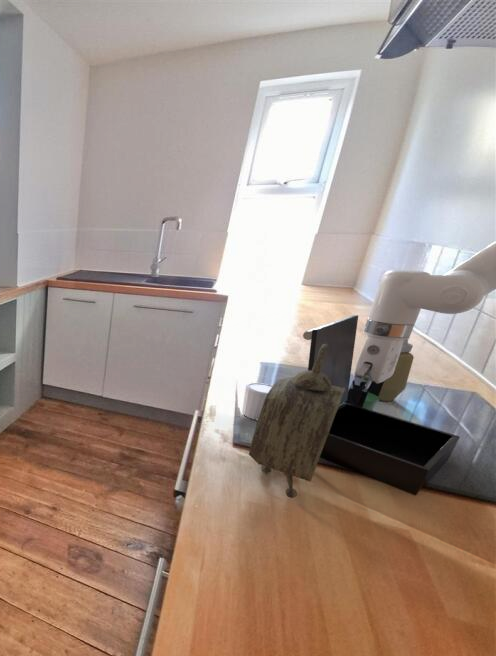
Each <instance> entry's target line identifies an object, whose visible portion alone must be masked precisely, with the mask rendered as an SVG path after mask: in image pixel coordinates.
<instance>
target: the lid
mask: <svg viewBox="0 0 496 656" xmlns="http://www.w3.org/2000/svg"><path fill="white" fill-rule="evenodd" d="M358 322H359V315H357V314H356V315H355V314H354V315H351V316H348V317H345V318H342V319H339V320H336V321H332V322H330V323H327V324H324V325H321V326H319V327H315V328H311V329H310V330H306V331H304V332H303V334H302V337H303V339H304V340H305V341H309V340H310V347H309V355H308V356H309V357H308V367H307V371H312V369H313V366H314V363H315V362H316V359H317V356H318V353H319V350H320V348H321V347H322V345H323V344H327V345H328V347H327V350H326V352H325V355H324V358H323V361H322V364H323V365H322V367H321V370H320V372H321V373H323V374H326V376H327V377H328V378H329V379H330V381H331V384H332V386H337V387H341V388H345V391H344V394H343V396H342V399H341V402H340V404H342V403H343V402H345V401H347V397H348V390H349V388H350V381H351V376H352V375H351V373H352V367H353V359H354V351H355V345H356V336H357V329H358ZM340 404H339V405H340Z"/></svg>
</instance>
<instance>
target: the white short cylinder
mask: <svg viewBox="0 0 496 656" xmlns="http://www.w3.org/2000/svg"><path fill="white" fill-rule="evenodd" d="M272 387H273V385H271V384H267V383H262V382H248V383H247V384H245V389H244V395H243V402H242V408H241V414H242V413H243V414H244V415H245V416H247V417H249V418H248V419H250V418H253V419H259V416H260V412H261V409H262V406H263V403H264V400H265V398H266V396H267V394H268V392H269V391H270V389H271V388H272ZM243 414H242V415H243ZM244 415H243V416H244ZM245 416H244V417H245ZM247 417H246V418H247ZM253 419H252V420H253Z"/></svg>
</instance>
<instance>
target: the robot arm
mask: <svg viewBox="0 0 496 656" xmlns="http://www.w3.org/2000/svg"><path fill="white" fill-rule="evenodd" d="M379 281H380V282H379V284H378V287H377V290H376V292H375V295H374V299H373V301H372V305H371V308H370V311H369V314H368V316H367V319H366V322H365V325H364V327H363V331H362V334H363V335H365V336H366V338H365V340H364V342H363V345H362V348H361V350H360V353H359V355H358V358H357V360H356V363H355V365H354V368H353V372H352V376H353V379H352V381H351V384H350V385H349V391H348V397H347V401H345V402H346V403H349V404H352V405H356V406H359V407H363V405H364V403H365V400H366V397H367V394H368V392H369V393H372V394H374V395H376V396H378V397H379V394H380V392H381V389H382V386H383V384H384V382H383V381H385V380H386V379H388V378H390V377H391V376H392V375H393V373H394V371H395V368H396V365H397V362H398V359H399V356H400V352H401V349H402V346H403V342H404V340H408V341H409V339H410V337H411V335H412V332H413V329H414V327H415V325H416V322H417V320H418V317H419V314H420V312H421V309H422V310H425V311H429V312H435V313H440V314H447V315H456V314H463V313H466V312H469V311H471V310H472V309H475V307H477V306H478V305H480V303H482V301H483V299H484V298H485V296H487V295H489V294H490V293H492V292H494V291H495V290H496V240H495V241H494V242H492V243H490V244H489V245H488V246H486V247H485V248H483V249H481V250H480V251H479V252H477V253H476V254H474V255H472V256H471V257H469V258H468V259H466V260H464V261H463V262H461V263H460V264H458V265H457V266H455V267H454V268H452V269H450V270H449V271H448V272H446V273H445V274H431V273H429V272H427V271H422V270H412V269H393V270H388V271H386V272H385V273H383V275H382V276H381V278H380V280H379ZM365 376H366V377H365ZM367 377H368V378H367ZM364 381H365V382H364Z"/></svg>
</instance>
